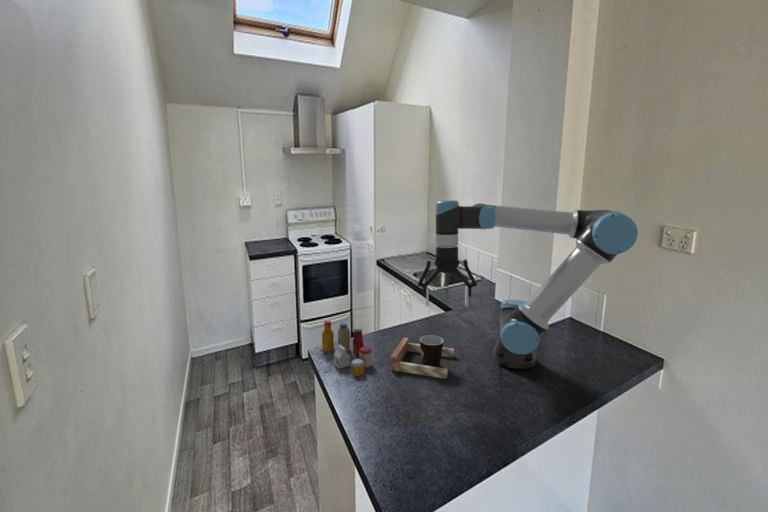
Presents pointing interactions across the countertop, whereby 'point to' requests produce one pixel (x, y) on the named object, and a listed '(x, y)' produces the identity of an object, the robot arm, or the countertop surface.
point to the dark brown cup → (431, 350)
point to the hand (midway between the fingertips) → (446, 305)
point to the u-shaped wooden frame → (416, 368)
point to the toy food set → (347, 348)
